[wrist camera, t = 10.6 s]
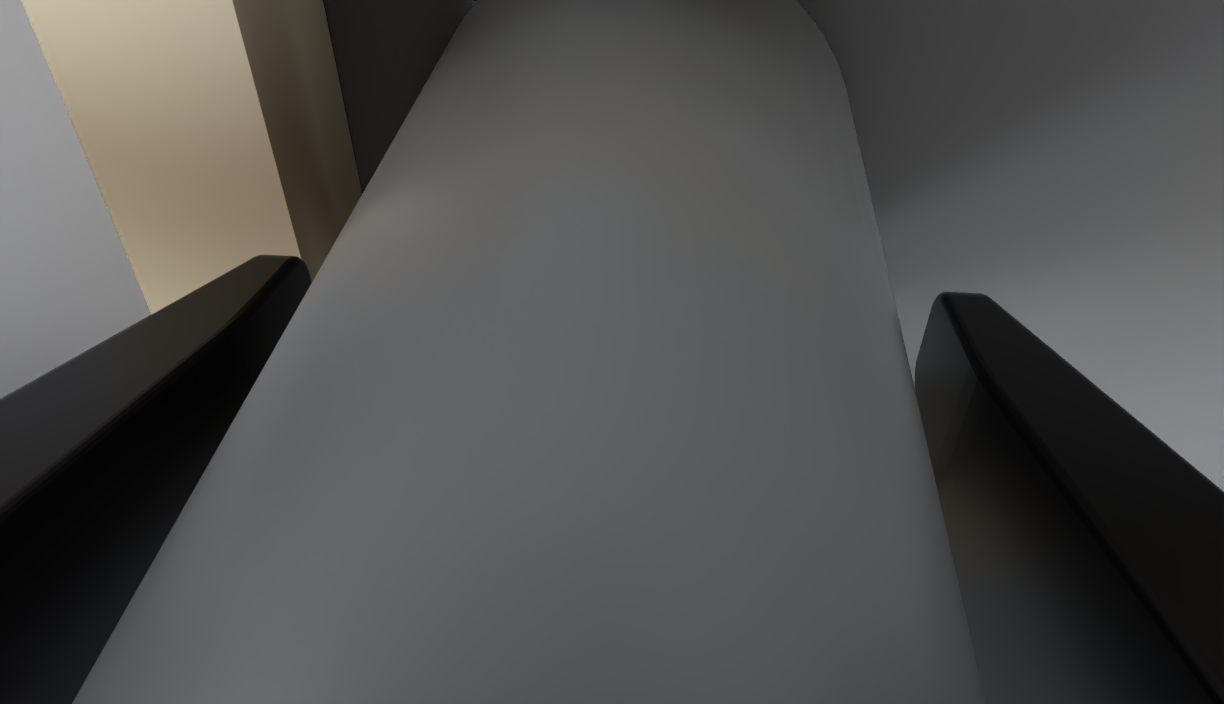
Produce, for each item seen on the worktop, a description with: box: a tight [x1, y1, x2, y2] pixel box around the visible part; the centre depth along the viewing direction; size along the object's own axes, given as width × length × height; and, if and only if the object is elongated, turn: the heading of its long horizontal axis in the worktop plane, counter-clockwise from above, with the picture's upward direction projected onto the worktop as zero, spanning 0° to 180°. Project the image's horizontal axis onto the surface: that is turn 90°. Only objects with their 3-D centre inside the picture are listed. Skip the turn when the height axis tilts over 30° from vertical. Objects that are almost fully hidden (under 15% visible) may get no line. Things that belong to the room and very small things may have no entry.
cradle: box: [21, 0, 362, 315], centre depth 10 cm, size 11×8×2 cm
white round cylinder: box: [72, 0, 986, 704], centre depth 8 cm, size 5×5×9 cm
